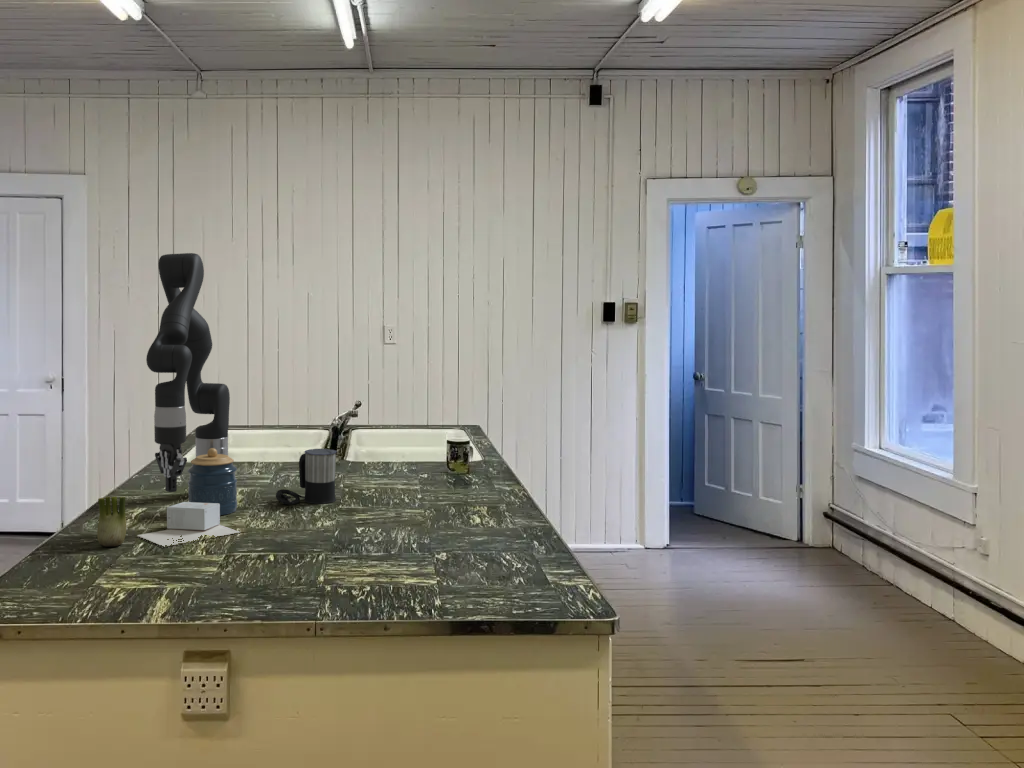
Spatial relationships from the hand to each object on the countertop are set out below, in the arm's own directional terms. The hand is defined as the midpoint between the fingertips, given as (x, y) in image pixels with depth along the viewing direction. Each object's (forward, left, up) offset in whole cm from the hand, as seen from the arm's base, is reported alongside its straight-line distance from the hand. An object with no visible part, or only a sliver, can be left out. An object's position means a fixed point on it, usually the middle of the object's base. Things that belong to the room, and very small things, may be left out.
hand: (171, 491), depth 234 cm
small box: (-2, -2, -7) cm, 7 cm away
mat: (0, +9, -10) cm, 13 cm away
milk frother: (-43, -3, -10) cm, 44 cm away
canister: (-17, -10, -10) cm, 22 cm away
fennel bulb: (+18, +6, -10) cm, 21 cm away
